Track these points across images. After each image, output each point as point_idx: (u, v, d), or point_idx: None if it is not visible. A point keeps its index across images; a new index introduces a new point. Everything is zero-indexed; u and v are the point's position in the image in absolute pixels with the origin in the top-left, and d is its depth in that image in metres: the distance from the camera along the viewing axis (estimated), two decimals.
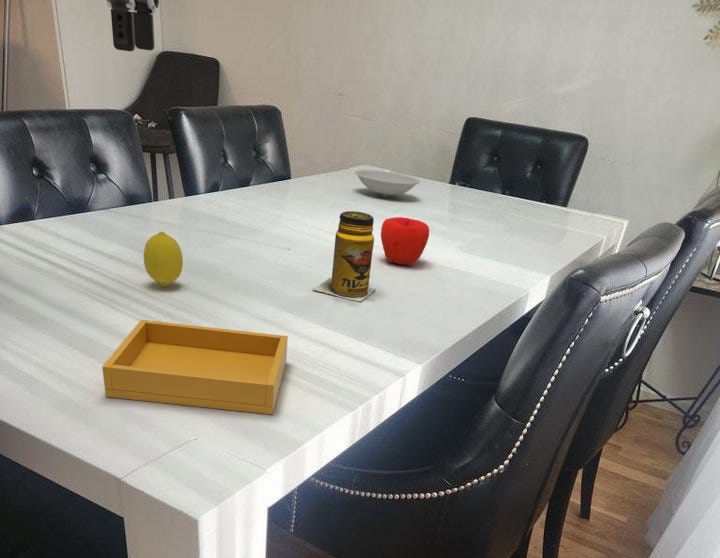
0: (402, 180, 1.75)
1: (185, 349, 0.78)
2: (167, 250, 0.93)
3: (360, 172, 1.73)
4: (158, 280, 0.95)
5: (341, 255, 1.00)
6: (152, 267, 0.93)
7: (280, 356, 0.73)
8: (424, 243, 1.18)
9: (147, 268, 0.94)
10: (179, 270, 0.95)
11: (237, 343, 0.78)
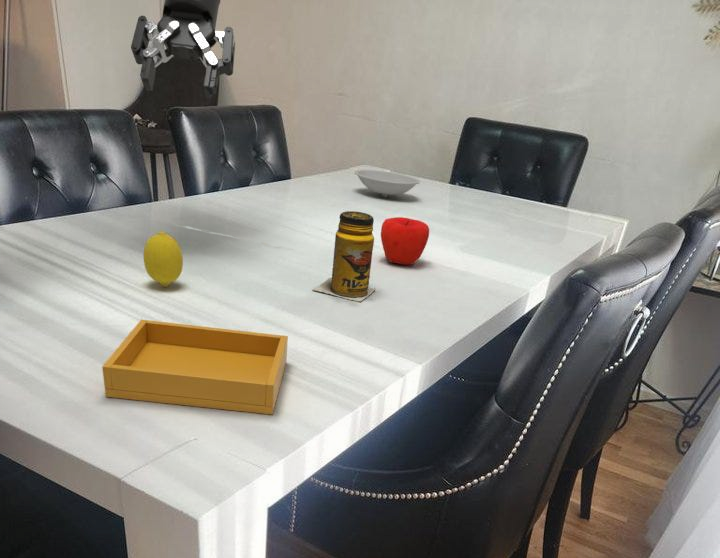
0: (402, 180, 1.75)
1: (185, 349, 0.78)
2: (167, 250, 0.93)
3: (360, 172, 1.73)
4: (158, 280, 0.95)
5: (341, 255, 1.00)
6: (152, 267, 0.93)
7: (280, 356, 0.73)
8: (424, 243, 1.18)
9: (147, 268, 0.94)
10: (179, 270, 0.95)
11: (237, 343, 0.78)
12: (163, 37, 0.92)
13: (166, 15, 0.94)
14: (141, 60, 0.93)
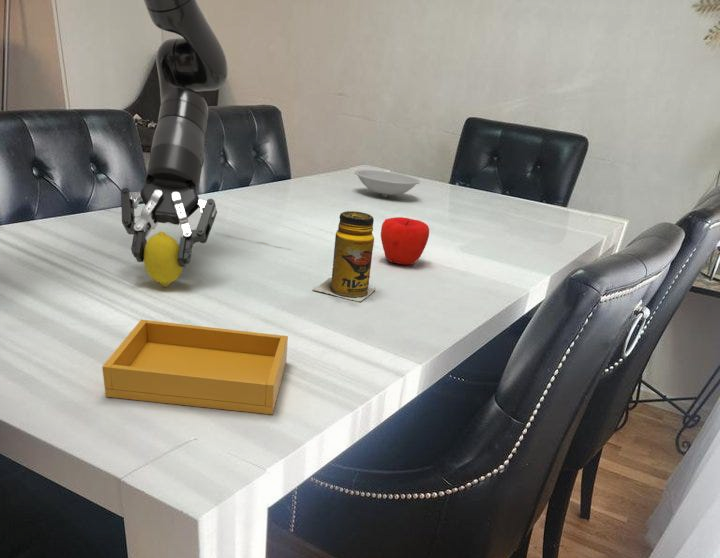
0: (402, 180, 1.75)
1: (185, 349, 0.78)
2: (167, 250, 0.93)
3: (360, 172, 1.73)
4: (158, 280, 0.95)
5: (341, 255, 1.00)
6: (152, 267, 0.93)
7: (280, 356, 0.73)
8: (424, 243, 1.18)
9: (147, 268, 0.94)
10: (179, 270, 0.95)
11: (237, 343, 0.78)
12: (146, 206, 0.93)
13: (149, 182, 0.95)
14: (132, 232, 0.94)
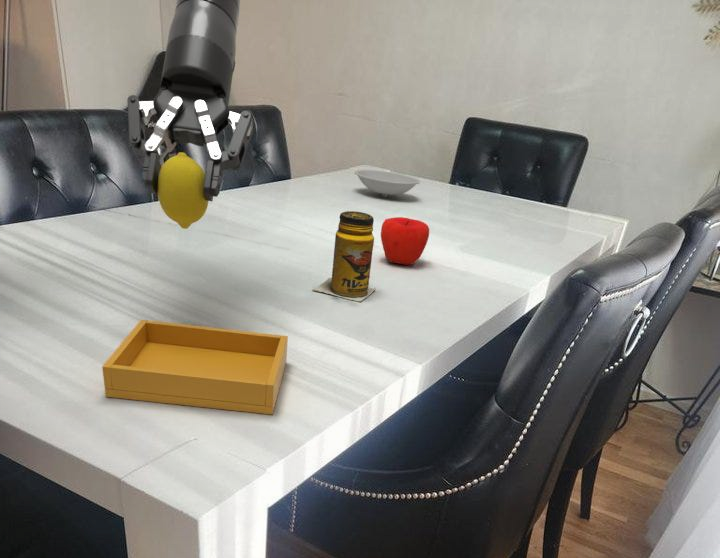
0: (402, 180, 1.75)
1: (185, 349, 0.78)
2: (190, 176, 0.70)
3: (360, 172, 1.73)
4: (177, 218, 0.72)
5: (341, 255, 1.00)
6: (169, 199, 0.70)
7: (280, 356, 0.73)
8: (424, 243, 1.18)
9: (162, 202, 0.71)
10: (204, 205, 0.72)
11: (237, 343, 0.78)
12: (161, 119, 0.70)
13: (165, 88, 0.72)
14: (142, 154, 0.71)
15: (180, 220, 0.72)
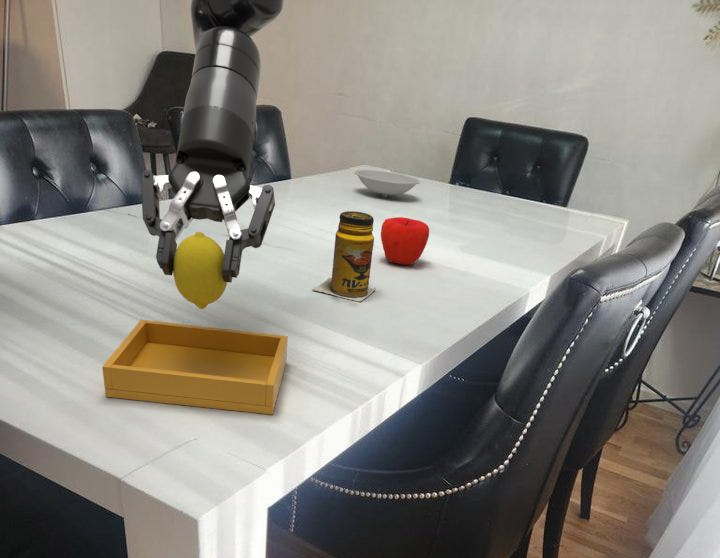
0: (402, 180, 1.75)
1: (185, 349, 0.78)
2: (208, 258, 0.65)
3: (360, 172, 1.73)
4: (193, 301, 0.67)
5: (341, 255, 1.00)
6: (185, 282, 0.66)
7: (280, 356, 0.73)
8: (424, 243, 1.18)
9: (178, 284, 0.66)
10: (223, 286, 0.67)
11: (237, 343, 0.78)
12: (177, 196, 0.65)
13: (181, 162, 0.67)
14: (157, 233, 0.66)
15: (197, 302, 0.67)
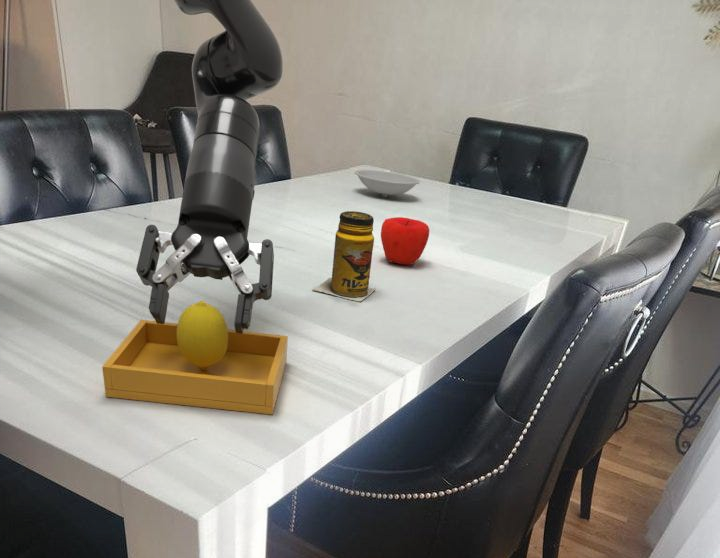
0: (402, 180, 1.75)
1: None
2: (209, 326, 0.69)
3: (360, 172, 1.73)
4: (196, 364, 0.71)
5: (341, 255, 1.00)
6: (188, 348, 0.70)
7: (280, 356, 0.73)
8: (424, 243, 1.18)
9: (181, 349, 0.70)
10: (224, 350, 0.72)
11: (237, 343, 0.78)
12: (180, 257, 0.69)
13: (183, 223, 0.70)
14: (150, 284, 0.70)
15: (199, 365, 0.72)
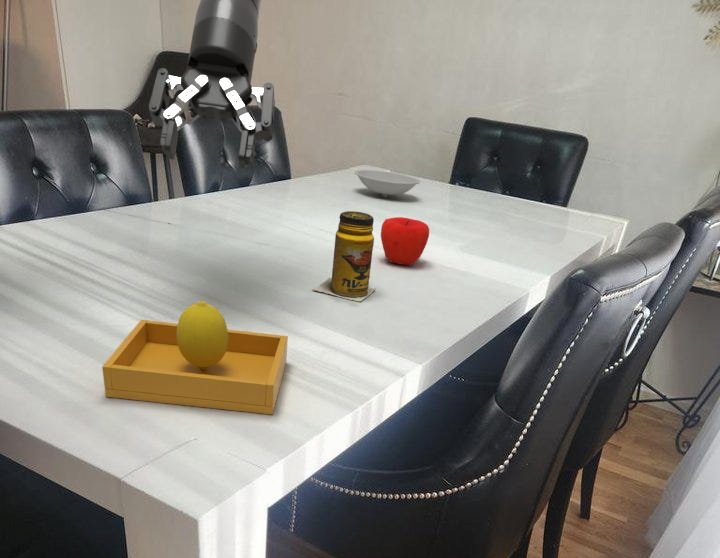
0: (402, 180, 1.75)
1: None
2: (209, 326, 0.69)
3: (360, 172, 1.73)
4: (196, 364, 0.71)
5: (341, 255, 1.00)
6: (188, 348, 0.70)
7: (280, 356, 0.73)
8: (424, 243, 1.18)
9: (181, 349, 0.70)
10: (224, 350, 0.72)
11: (237, 343, 0.78)
12: (189, 95, 0.75)
13: (192, 68, 0.76)
14: (161, 122, 0.76)
15: (199, 365, 0.72)
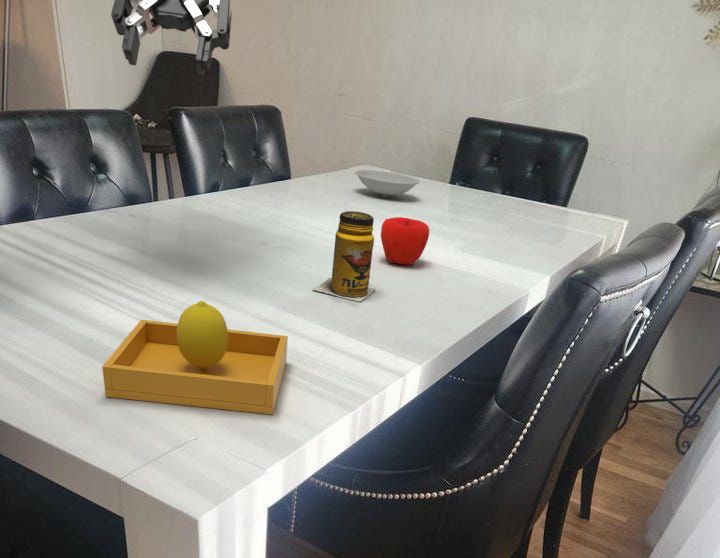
0: (402, 180, 1.75)
1: None
2: (209, 326, 0.69)
3: (360, 172, 1.73)
4: (196, 364, 0.71)
5: (341, 255, 1.00)
6: (188, 348, 0.70)
7: (280, 356, 0.73)
8: (424, 243, 1.18)
9: (181, 349, 0.70)
10: (224, 350, 0.72)
11: (237, 343, 0.78)
12: (149, 3, 0.80)
13: None
14: (123, 30, 0.81)
15: (199, 365, 0.72)
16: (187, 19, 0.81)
